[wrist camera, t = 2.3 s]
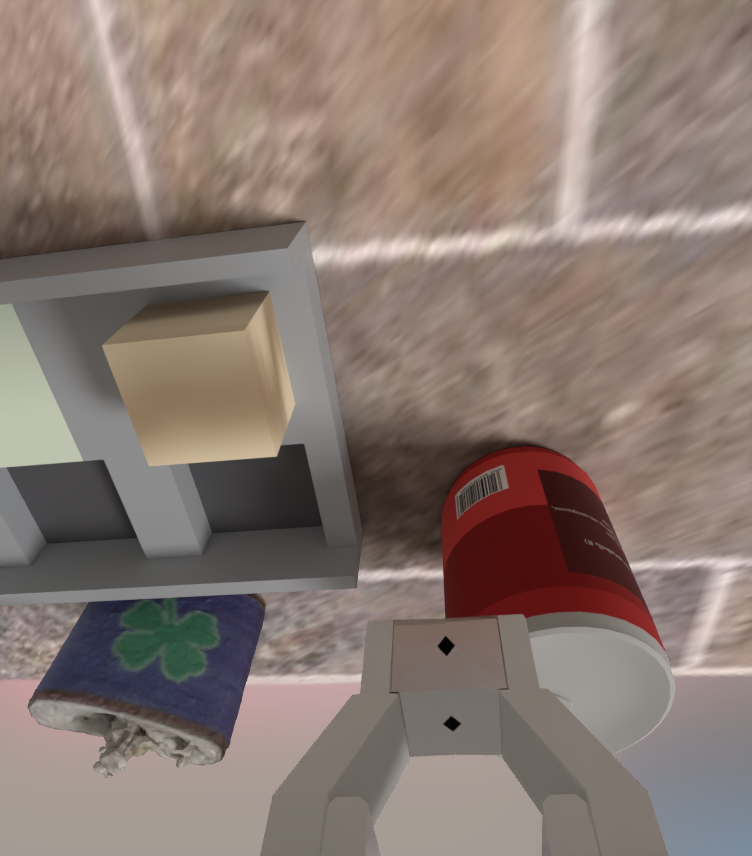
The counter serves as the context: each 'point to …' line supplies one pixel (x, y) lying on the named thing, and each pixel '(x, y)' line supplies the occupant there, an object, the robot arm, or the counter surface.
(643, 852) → the robot arm
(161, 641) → the flask
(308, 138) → the counter surface
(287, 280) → the grey compartment tray
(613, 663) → the canned food
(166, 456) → the maple block
